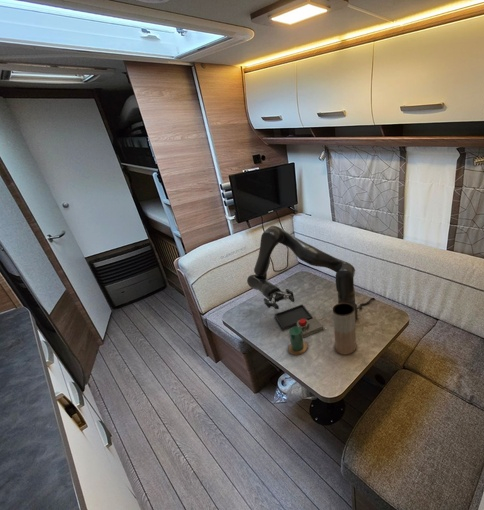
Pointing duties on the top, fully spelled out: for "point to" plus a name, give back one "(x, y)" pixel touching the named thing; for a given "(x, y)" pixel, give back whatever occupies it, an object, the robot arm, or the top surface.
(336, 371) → the top surface
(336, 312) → the planter
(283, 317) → the baking tray
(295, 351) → the trivet
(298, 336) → the green peg
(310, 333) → the box
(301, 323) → the stop button
